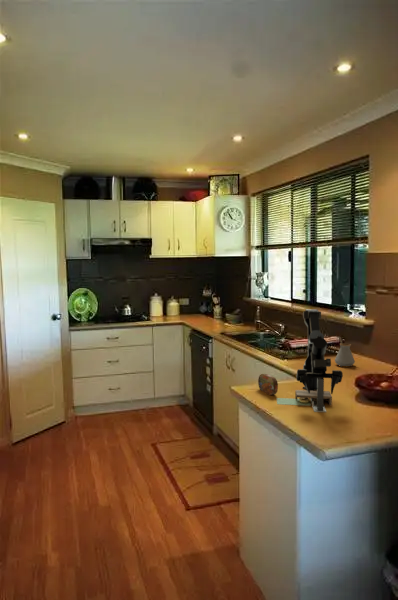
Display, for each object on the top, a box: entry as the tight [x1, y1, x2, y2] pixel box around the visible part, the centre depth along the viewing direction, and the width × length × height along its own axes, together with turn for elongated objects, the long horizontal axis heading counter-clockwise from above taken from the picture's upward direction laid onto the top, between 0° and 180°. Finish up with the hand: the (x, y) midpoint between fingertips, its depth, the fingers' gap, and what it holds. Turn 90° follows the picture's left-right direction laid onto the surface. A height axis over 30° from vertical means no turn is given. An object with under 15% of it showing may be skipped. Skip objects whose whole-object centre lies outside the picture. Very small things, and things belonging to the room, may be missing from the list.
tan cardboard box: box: [294, 389, 333, 406], centre depth 206 cm, size 8×15×4 cm, turn 82°
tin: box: [257, 373, 279, 396], centre depth 220 cm, size 15×3×8 cm, turn 21°
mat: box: [276, 397, 312, 407], centre depth 206 cm, size 9×14×1 cm, turn 82°
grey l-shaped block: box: [309, 378, 327, 413], centre depth 199 cm, size 15×5×14 cm, turn 172°
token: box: [298, 397, 311, 404], centre depth 205 cm, size 4×4×2 cm
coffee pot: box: [334, 336, 356, 367], centre depth 279 cm, size 21×12×15 cm, turn 176°
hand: (320, 393), depth 192 cm, fingers open, 9 cm apart
